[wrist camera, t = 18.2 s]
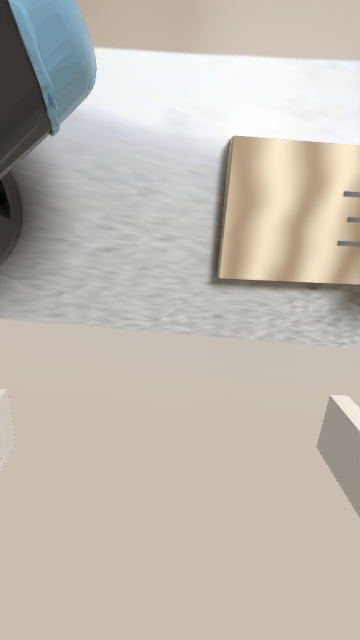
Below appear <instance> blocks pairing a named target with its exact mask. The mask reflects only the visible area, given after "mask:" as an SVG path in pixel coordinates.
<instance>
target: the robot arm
mask: <svg viewBox="0 0 360 640" xmlns="http://www.w3.org/2000/svg"><path fill="white" fill-rule="evenodd" d="M96 70H97V68H96V60H95V52H94V48H93V45H92V42H91V38H90V35H89V32H88V29H87V26H86V24H85V21H84V18H83V16H82V13H81V11H80V8H79V6H78V4H77V1H76V0H0V263H1V262H3V261H4V260H5V259H6V258H7V257H8V255H9V254H10V253H11V251H12V250H13V248H14V247H15V245H16V243H17V240H18V238H19V234H20V230H21V224H22V208H21V201H20V196H19V193H18V190H17V187H16V184H15V182H14V180H13V178H12V176H11V174H10V172H9V171H10V170H11V169H12V168H13V167H14V166H15V165H16V164H17V163H19V162H20V161H21V160H22V159H23V158H24V157H25V156H26V155H27V154H28V153H29V152H31V151H32V150H33V149H34V148H35V147H36V146H37V145H38V144H39V143H40V142H41V141H42V140H44V139H45V138H46V137H47V136H48V135H49V134H50V135H51V136H54V135H55V134H57V132H58V131H59V127H60V124H61V123H62V122H63V121H64V120H65V119H66V118H67V117H68V116H69V115H70V114H71V113H72V112H73V111H74V110H75V109H76V108H77V107H78V106H79V105H80V104H81V103H82V102H83V101H84V99H85V98H86V97H87V96H88V95H89V94H90V92H91V90H92V89H93V86H94V84H95V78H96ZM14 446H15V442H14V435H13V429H12V422H11V415H10V408H9V401H8V394H7V389H0V471H1V469H2V468H3V466H4V464H5V462H6V461H7V459H8V457H9V455H10V453H11V451H12V450H13V448H14ZM317 449H318V451H319V452H320V454H321V455H322V457H323V459H324V460H325V462H326V464H327V465H328V467H329V469H330V470H331V472H332V473H333V475H334V477H335V478H336V480H337V482H338V483H339V485H340V487H341V488H342V490H343V491H344V493H345V495H346V496H347V498H348V500H349V501H350V503H351V504H352V506H353V508H354V509H355V511H356V513H357V514H358V516H359V518H360V409H359V408H358V407H357V405H356V404H355V403H354V402H353V401H352V400H351V399H350V398H349V397H348V396H347V395H330V397H329V401H328V405H327V409H326V412H325V417H324V420H323V424H322V428H321V432H320V436H319V440H318V444H317Z"/></svg>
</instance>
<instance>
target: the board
mask: <svg viewBox="0 0 360 640" xmlns="http://www.w3.org/2000/svg"><path fill="white" fill-rule="evenodd" d="M217 275H218V277H219V278H224V279H247V280H269V281H291V282H313V283H336V284H358V285H360V145H348V144H335V143H322V142H310V141H297V140H284V139H271V138H258V137H245V136H233V137H232V138H230V146H229V156H228V166H227V176H226V186H225V196H224V206H223V216H222V226H221V236H220V245H219V255H218V265H217Z"/></svg>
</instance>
